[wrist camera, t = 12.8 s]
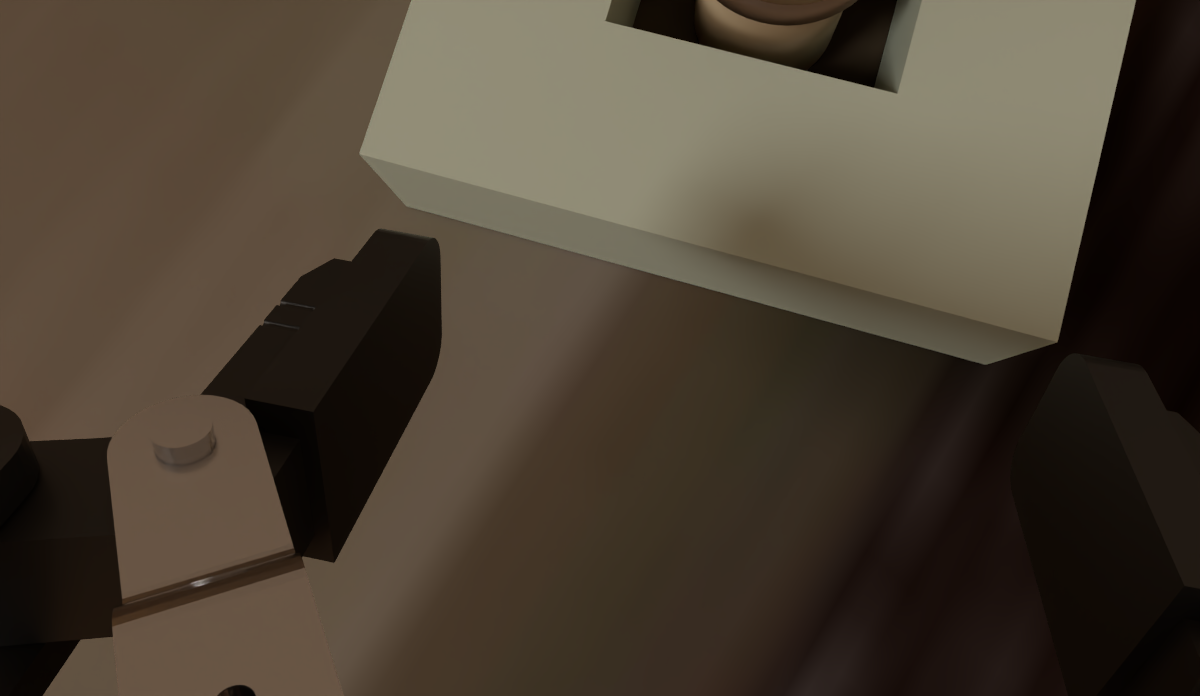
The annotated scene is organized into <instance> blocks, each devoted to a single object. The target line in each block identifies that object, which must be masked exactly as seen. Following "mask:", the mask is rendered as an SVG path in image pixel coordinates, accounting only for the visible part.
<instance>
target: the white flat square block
mask: <svg viewBox="0 0 1200 696" xmlns="http://www.w3.org/2000/svg"><path fill="white" fill-rule="evenodd" d="M640 1H641V0H411V3H410V6H409V9H408V12H407V15H406V18H405V21H404V24H403V27H402V30H401V33H400V35H399V38H398V41H397V44H396V47H395V50H394V53H393V56H392V59H391V62H390V65H389V68H388V71H387V74H386V77H385V80H384V83H383V86H382V89H381V91H380V94H379V97H378V100H377V103H376V106H375V109H374V112H373V115H372V118H371V121H370V124H369V127H368V130H367V133H366V136H365V139H364V142H363V145H362V147H361V150H360V153H359V154H360V155H361V156H362V158H363V159H364V160H365V161H366V162H367V163H368V164H369V165H370V166H371V168H372V169H373V170H374V171H375V172H376V173H377V174H378V175H379V176H380V177H381V179H382V180H383V181H384V182H385V183H386V184H387V185H388V186H389V187H390V189H391V190H392V191H393V192H394V193H395V194H396V195H397V196H398V197H399V198H400V200H401V201H402V202H403V203H404V204H405V205H406V206H408V207H411V208H415V209H419V210H422V211H426V212H430V213H433V214H437V215H441V216H444V217H448V218H451V219H455V220H459V221H462V222H466V223H470V224H473V225H477V226H481V227H484V228H488V229H492V230H495V231H499V232H503V233H506V234H510V235H514V236H517V237H521V238H524V239H528V240H532V241H535V242H539V243H543V244H546V245H550V246H554V247H557V248H561V249H565V250H568V251H572V252H576V253H579V254H583V255H587V256H590V257H594V258H597V259H601V260H605V261H608V262H612V263H616V264H619V265H623V266H627V267H630V268H634V269H638V270H641V271H645V272H649V273H652V274H656V275H660V276H663V277H667V278H670V279H674V280H678V281H681V282H685V283H689V284H692V285H696V286H700V287H703V288H707V289H711V290H714V291H718V292H722V293H725V294H729V295H733V296H736V297H740V298H743V299H747V300H751V301H754V302H758V303H762V304H765V305H769V306H773V307H776V308H780V309H784V310H787V311H791V312H795V313H798V314H802V315H806V316H809V317H813V318H816V319H820V320H824V321H827V322H831V323H835V324H838V325H842V326H846V327H849V328H853V329H857V330H860V331H864V332H868V333H871V334H875V335H879V336H882V337H886V338H889V339H893V340H897V341H900V342H904V343H908V344H911V345H915V346H919V347H922V348H926V349H930V350H933V351H937V352H941V353H944V354H948V355H952V356H955V357H959V358H962V359H966V360H970V361H973V362H977V363H981V364H984V365H987V364H990V363H993V362H997V361H1000V360H1003V359H1006V358H1009V357H1012V356H1016V355H1019V354H1022V353H1025V352H1028V351H1031V350H1035V349H1038V348H1041V347H1044V346H1047V345H1050V344H1054V343H1057V342H1058V338H1059V334H1060V329H1061V325H1062V320H1063V316H1064V312H1065V307H1066V303H1067V299H1068V294H1069V290H1070V286H1071V281H1072V277H1073V273H1074V268H1075V264H1076V259H1077V255H1078V251H1079V246H1080V242H1081V238H1082V233H1083V229H1084V225H1085V220H1086V216H1087V212H1088V207H1089V203H1090V198H1091V194H1092V190H1093V185H1094V181H1095V177H1096V172H1097V168H1098V164H1099V159H1100V155H1101V151H1102V146H1103V142H1104V138H1105V133H1106V129H1107V124H1108V120H1109V116H1110V111H1111V107H1112V103H1113V98H1114V94H1115V90H1116V85H1117V81H1118V77H1119V72H1120V68H1121V63H1122V59H1123V55H1124V50H1125V46H1126V42H1127V37H1128V33H1129V29H1130V24H1131V20H1132V16H1133V11H1134V7H1135V2H1136V0H897V3H896V7H895V11H894V14H893V18H892V22H891V26H890V29H889V33H888V37H887V41H886V44H885V48H884V52H883V56H882V59H881V63H880V67H879V71H878V75H877V78H876V82H875V86H874V88H872V87H868V86H864V85H860V84H856V83H852V82H848V81H844V80H840V79H836V78H832V77H828V76H824V75H820V74H816V73H812V72H808V71H804V70H800V69H796V68H792V67H788V66H784V65H780V64H776V63H772V62H768V61H764V60H760V59H756V58H752V57H747V56H743V55H739V54H735V53H731V52H727V51H723V50H719V49H715V48H711V47H707V46H703V45H699V44H695V43H691V42H687V41H683V40H679V39H675V38H671V37H667V36H663V35H659V34H655V33H651V32H647V31H643V30H639V29H635V28H632V27H633V24H634V21H635V18H636V14H637V11H638V8H639V4H640Z"/></svg>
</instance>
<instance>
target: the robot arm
mask: <svg viewBox="0 0 1200 696" xmlns="http://www.w3.org/2000/svg"><path fill="white" fill-rule="evenodd" d="M441 338H442V320H441V265H440V248H439V244H438V241H437V240H436V239H435V238H431V237H426V236H420V235H414V234H409V233H403V232H397V231H392V230H386V229H378V230H377V231H375V232H374V234H373V235H372V236H371V237H370V239H369V240H368V241H367V242H366V244H365V245H364V246H363V248H362V249H361V250H360V251H359V253H358V254H357V255H356V256H355V258H354V259H353V260H352V262H351V261H345V260H340V259H332V260H330V261H328V262H327V263H325V264H323V265H321V266H319V267H318V268H316V269H314V270H312V271H310V272H308V273H307V274H305V275H303V276H301V277H300V278H299V280H298V281H297V282H296V283H295V284H294V285H293V287H292V288H291V289H290V290H289V291H288V293H287V294H286V295H285V296H284V297H283V298H282V300H281V304H280V306H278V305H276V307H275V308H274V309H273V310H272V311H271V313H270V314H269V315H268V316H267V317H266V318H265V320H264V324H263V326H261V325H259V327H258V328H257V329H256V330H255V331H254V333H253V334H252V335H251V336H250V337H249V338H248V340H247V341H246V342H245V343H244V344H243V345H242V347H241V348H240V349H239V350H238V351H237V352H236V354H235V355H234V356H233V357H232V358H231V360H230V361H229V362H228V363H227V364H226V365H225V367H224V368H223V369H222V370H221V371H220V372H219V374H218V375H217V376H216V377H215V378H214V380H213V381H212V382H211V383H210V384H209V385H208V387H207V388H206V389H205V390H204V391H203V392H202V394H201V395H189V396H183V397H176V398H172V399H169V400H165V401H162V402H159V403H157V404H154V405H151V406H149V407H147V408H145V409H143V410H141V411H140V412H138V413H137V414H135V415H134V416H132V417H131V418H129V419H128V420H127V421H126V422H125V423H124V424H122V425H121V427H120V428H119V429H118V430H117V431H116V432H115V434H114V435H113V437H108V438H93V439H72V440H50V441H29V439H28V437H27V434H26V432H25V429H24V427H23V425H22V422H21V420H20V418H19V417H18V416H17V415H16V414H15V413H14V412H12V411H11V410H10V409H8V408H6V407H3V406H1V405H0V696H43V694H44V693H45V691H46V690H47V688H48V687H49V685H50V684H51V682H52V681H53V679H54V678H55V676H56V675H57V674H58V672H59V671H60V669H61V668H62V666H63V665H64V663H65V662H66V660H67V659H68V657H69V656H70V654H71V653H72V651H73V650H74V649H75V647H76V646H77V644H78V643H79V641H80V640H81V639H92V638H103V637H113V643H114V653H115V664H116V674H117V685H118V695H119V696H344V695H343V692H342V688H341V685H340V682H339V678H338V675H337V672H336V668H335V665H334V662H333V659H332V655H331V652H330V649H329V645H328V642H327V639H326V635H325V632H324V629H323V625H322V622H321V619H320V615H319V612H318V609H317V606H316V602H315V599H314V596H313V592H312V589H311V586H310V582H309V579H308V576H307V572H306V569H305V566H304V563H303V560H302V557H303V556H305V557H310V558H314V559H319V560H324V561H329V562H333V563H334V562H335V560H336V559H337V557H338V555H339V553H340V551H341V549H342V547H343V545H344V543H345V542H346V540H347V538H348V536H349V534H350V532H351V530H352V528H353V527H354V525H355V523H356V521H357V519H358V517H359V515H360V513H361V511H362V510H363V508H364V506H365V504H366V502H367V500H368V498H369V496H370V494H371V493H372V491H373V489H374V487H375V485H376V483H377V481H378V479H379V478H380V476H381V474H382V472H383V470H384V468H385V466H386V464H387V462H388V461H389V459H390V457H391V455H392V453H393V451H394V449H395V447H396V445H397V444H398V442H399V440H400V438H401V436H402V434H403V432H404V430H405V428H406V427H407V425H408V423H409V421H410V419H411V417H412V415H413V413H414V412H415V410H416V408H417V406H418V404H419V402H420V400H421V398H422V396H423V395H424V393H425V391H426V389H427V387H428V385H429V383H430V381H431V379H432V377H433V375H434V372H435V369H436V366H437V362H438V358H439V354H440V348H441ZM1011 490H1012V494H1013V498H1014V502H1015V505H1016V509H1017V512H1018V516H1019V520H1020V523H1021V527H1022V531H1023V534H1024V538H1025V541H1026V545H1027V549H1028V552H1029V556H1030V559H1031V563H1032V567H1033V570H1034V574H1035V578H1036V581H1037V585H1038V588H1039V592H1040V596H1041V599H1042V603H1043V606H1044V610H1045V614H1046V617H1047V621H1048V625H1049V628H1050V632H1051V635H1052V639H1053V643H1054V646H1055V650H1056V654H1057V657H1058V661H1059V664H1060V668H1061V672H1062V675H1063V679H1064V682H1065V686H1066V690H1067V693H1068V696H1200V433H1199V432H1198V431H1197V430H1195V429H1194V428H1193V427H1192V426H1191V425H1190V424H1189V423H1188V422H1187V421H1186V420H1185V419H1184V418H1183V417H1182V416H1181V415H1180V414H1179V413H1177V412H1171V411H1167V410H1166V409H1165V407H1164V405H1163V403H1162V401H1161V399H1160V397H1159V395H1158V393H1157V391H1156V389H1155V388H1154V386H1153V384H1152V382H1151V380H1150V378H1149V376H1148V374H1147V372H1146V371H1145V369H1144V368H1143V367H1142V366H1140V365H1138V364H1134V363H1128V362H1122V361H1117V360H1111V359H1106V358H1100V357H1094V356H1089V355H1083V354H1077V353H1073V354H1070V355H1069V356H1067V357H1066V358H1065V359H1064V360H1063V361H1062V362H1061V364H1060V365H1059V367H1058V369H1057V370H1056V372H1055V374H1054V376H1053V378H1052V380H1051V382H1050V383H1049V385H1048V387H1047V389H1046V391H1045V393H1044V395H1043V397H1042V399H1041V400H1040V402H1039V404H1038V406H1037V408H1036V410H1035V412H1034V414H1033V415H1032V417H1031V419H1030V421H1029V423H1028V425H1027V427H1026V429H1025V430H1024V432H1023V434H1022V436H1021V438H1020V440H1019V442H1018V444H1017V446H1016V449H1015V452H1014V456H1013V460H1012V466H1011Z"/></svg>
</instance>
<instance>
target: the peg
mask: <svg viewBox="0 0 1200 696" xmlns="http://www.w3.org/2000/svg"><path fill="white" fill-rule="evenodd" d="M856 1H857V0H695V10H694V27H695V32H696V36H697V38H698V41H699V44H700V45H703V46H707V47H711V48H715V49H719V50H723V51H727V52H731V53H735V54H739V55H743V56H747V57H752V58H756V59H760V60H764V61H768V62H772V63H776V64H780V65H784V66H788V67H792V68H796V69H800V70H804V71H806V70H808V69H809V68H810V67H811V66H812V65H814V64H815V63H816V62H817V61H818V59H819V58H820V57H821V56H822V54H823V53H824V52H825V50H826V48H827V46H828V44H829V43H830V40H831V38H832V36H833V33H834V31H835V29H836V26H837V24H838V22H839V19H840V17H841V15H842V12H843V10H845V9H847V8H848V7H850V6H851V5H853V4H854V3H855V2H856Z"/></svg>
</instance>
